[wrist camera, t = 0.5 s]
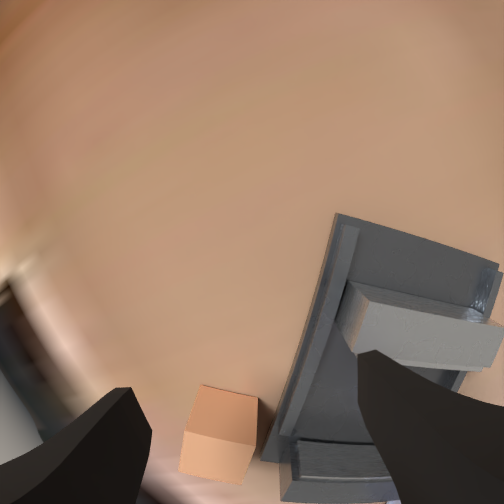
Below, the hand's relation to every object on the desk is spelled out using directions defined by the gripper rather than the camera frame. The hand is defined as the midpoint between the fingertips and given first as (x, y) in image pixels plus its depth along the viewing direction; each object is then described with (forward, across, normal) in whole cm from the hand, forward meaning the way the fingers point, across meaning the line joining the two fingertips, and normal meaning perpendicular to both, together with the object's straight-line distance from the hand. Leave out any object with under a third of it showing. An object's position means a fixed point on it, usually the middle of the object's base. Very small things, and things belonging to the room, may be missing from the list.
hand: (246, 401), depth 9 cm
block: (+9, +3, +9) cm, 13 cm away
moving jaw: (+8, -10, +3) cm, 13 cm away
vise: (+9, -8, +7) cm, 14 cm away
